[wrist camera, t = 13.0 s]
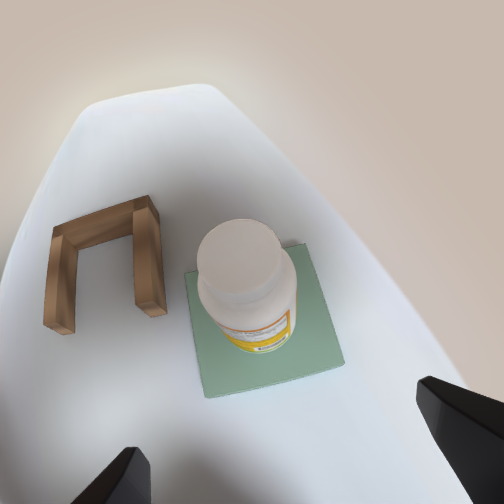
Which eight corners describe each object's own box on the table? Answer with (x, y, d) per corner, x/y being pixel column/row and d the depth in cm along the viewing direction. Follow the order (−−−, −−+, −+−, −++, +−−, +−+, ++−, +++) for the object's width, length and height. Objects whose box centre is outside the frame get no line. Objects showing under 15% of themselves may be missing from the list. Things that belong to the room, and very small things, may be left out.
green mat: (342, 365, 22) (344, 362, 21) (208, 398, 22) (204, 397, 20) (304, 250, 27) (305, 243, 26) (188, 279, 27) (184, 273, 26)
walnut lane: (167, 313, 25) (153, 300, 23) (62, 335, 25) (43, 324, 23) (158, 213, 31) (147, 194, 28) (68, 242, 30) (53, 227, 28)
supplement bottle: (242, 275, 25) (215, 194, 16) (307, 300, 23) (314, 224, 15) (209, 336, 23) (160, 281, 14) (277, 366, 21) (267, 328, 13)
